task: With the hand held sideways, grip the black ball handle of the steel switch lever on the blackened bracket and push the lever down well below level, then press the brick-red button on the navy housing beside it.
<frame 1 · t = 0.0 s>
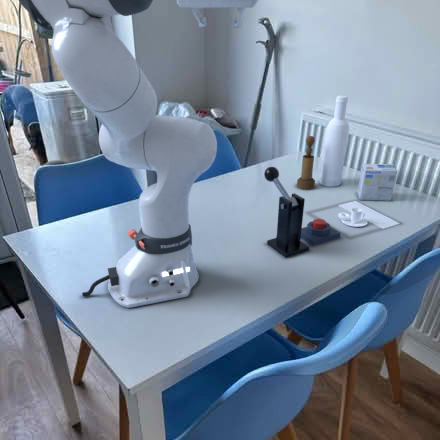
hand: (220, 26, 106), 52 cm above the table, tool tilted 20°, fingers open, 8 cm apart
bottle: (330, 183, 159), on the table
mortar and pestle: (305, 186, 157), on the table
light bulb box: (373, 197, 148), on the table
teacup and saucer: (352, 218, 134), on the table
lever: (280, 188, 114), point 16 cm above the table, hinge at 28.0°
switch bracket: (287, 247, 119), on the table
button housing: (317, 236, 125), on the table
button: (319, 224, 122), point 4 cm above the table, slide at 0.1 cm
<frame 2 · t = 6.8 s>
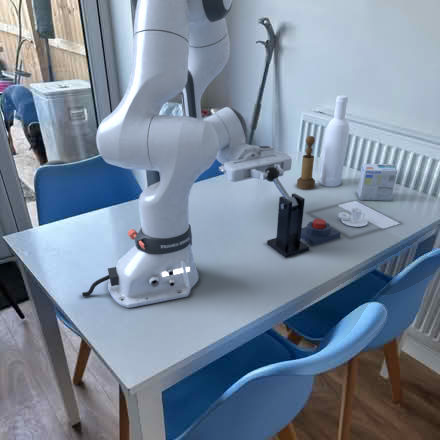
hand: (273, 175, 115), 18 cm above the table, tool horizontal, fingers closed on lever, 4 cm apart
lever: (280, 188, 114), point 16 cm above the table, hinge at 28.0°, touching gripper
everything else where it was.
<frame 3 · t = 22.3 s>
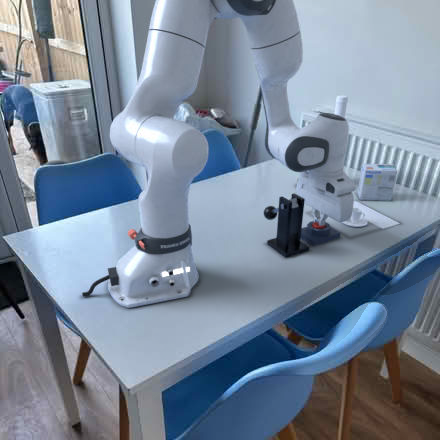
hand: (319, 223, 123), 4 cm above the table, tool pointing down, fingers closed, pressing on button
lever: (279, 209, 117), point 10 cm above the table, hinge at -33.5°
button: (318, 227, 123), point 3 cm above the table, slide at -0.9 cm, touching gripper
everything else where it was.
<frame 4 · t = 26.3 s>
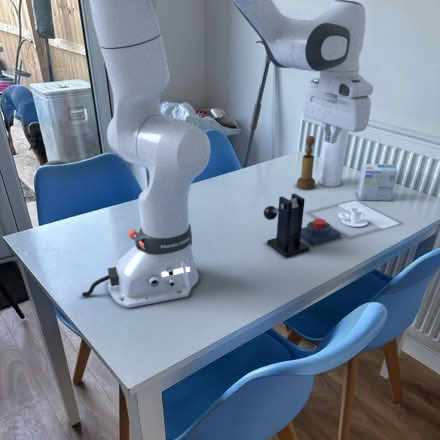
hand: (329, 142, 109), 27 cm above the table, tool pointing down, fingers closed
button: (319, 224, 122), point 4 cm above the table, slide at 0.1 cm
everything else where it was.
at the end: lever at -34° (first picture: +28°); button pushed in 1.0 cm at the most during the clip, back to where it started at the end; button slide at 0.1 cm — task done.
